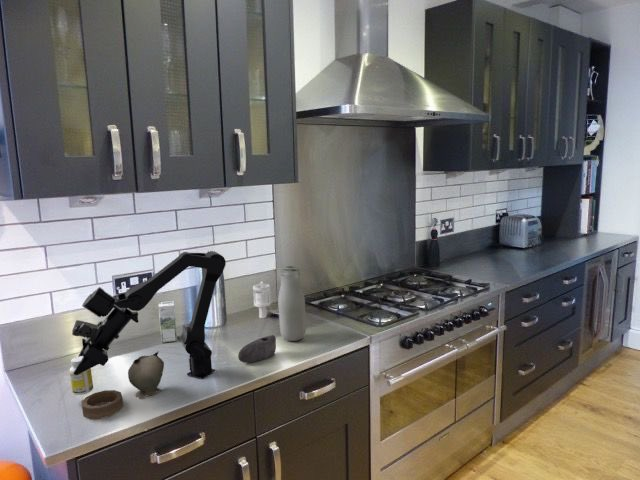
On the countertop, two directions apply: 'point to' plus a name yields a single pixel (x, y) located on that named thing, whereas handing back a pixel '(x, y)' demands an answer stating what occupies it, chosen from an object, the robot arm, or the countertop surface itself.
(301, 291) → the grey bottle vase
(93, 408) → the walnut ring socket
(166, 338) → the syrup box
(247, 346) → the perforated stone tool
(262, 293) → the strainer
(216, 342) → the countertop surface
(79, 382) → the supplement bottle
